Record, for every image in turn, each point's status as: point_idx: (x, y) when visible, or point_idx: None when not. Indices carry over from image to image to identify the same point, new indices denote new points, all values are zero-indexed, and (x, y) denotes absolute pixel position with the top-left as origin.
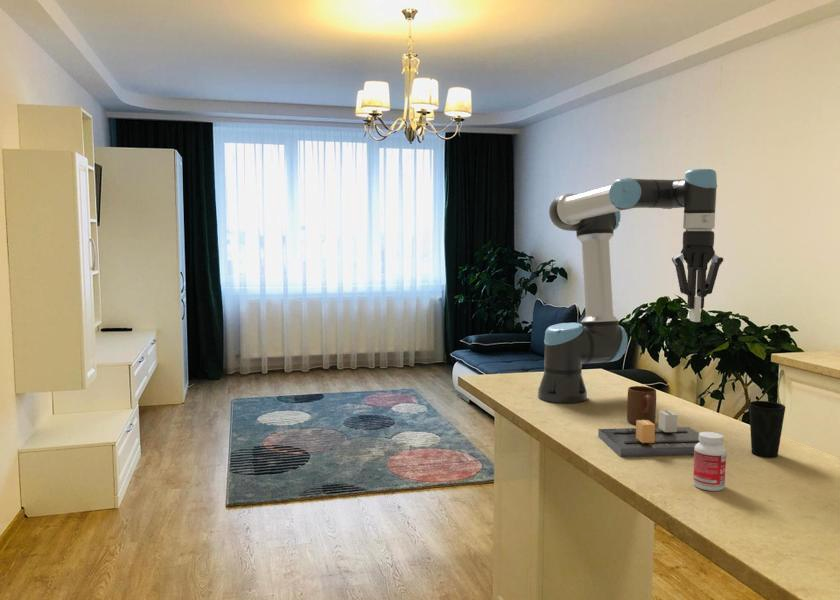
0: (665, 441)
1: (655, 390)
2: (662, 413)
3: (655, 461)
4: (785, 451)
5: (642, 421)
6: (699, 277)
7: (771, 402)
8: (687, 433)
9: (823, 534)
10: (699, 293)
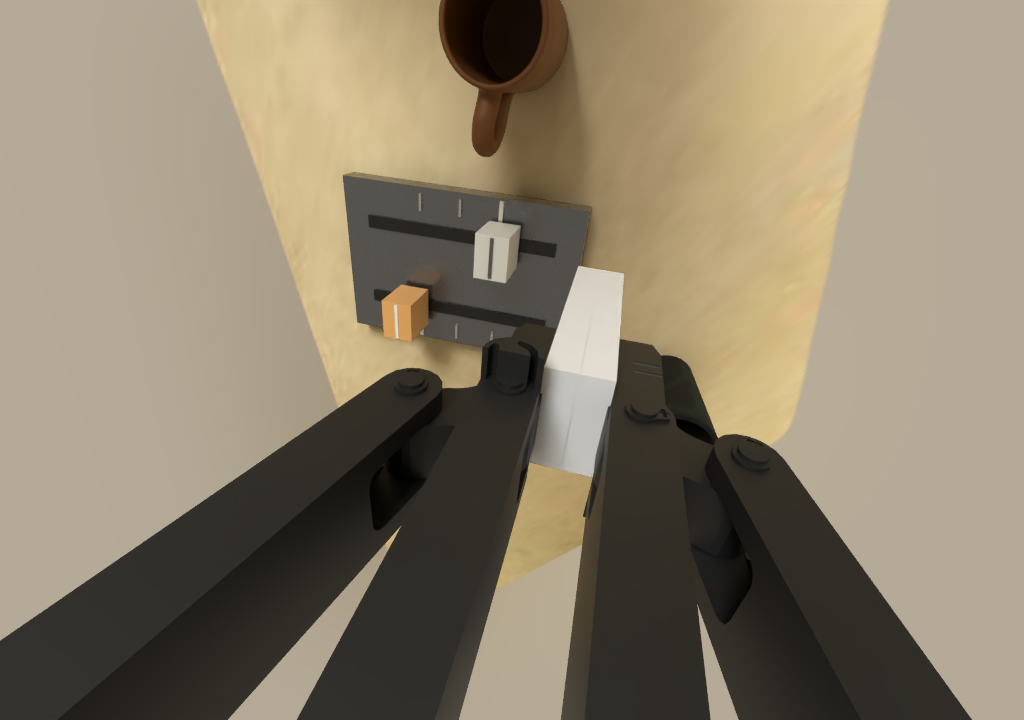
0: (460, 313)
1: (535, 62)
2: (474, 257)
3: (421, 352)
4: (729, 377)
5: (392, 313)
6: (574, 681)
7: (711, 436)
8: (549, 265)
9: (505, 576)
10: (595, 471)
